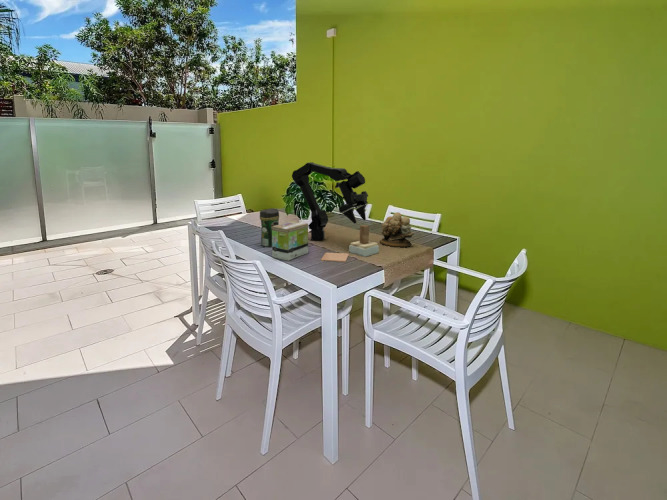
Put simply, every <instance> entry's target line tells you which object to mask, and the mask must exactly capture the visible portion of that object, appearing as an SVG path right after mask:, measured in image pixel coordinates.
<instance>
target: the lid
mask: <svg viewBox="0 0 667 500" xmlns="http://www.w3.org/2000/svg"><path fill="white" fill-rule="evenodd" d="M369 235H370V226H369V225H365V224H362V225H360V226H359V240H357V241H353V242H350V245H351V246H355V247H358V248H362V249H367V248H371V247H374V246H377V245H378V242H375V241H370V240H369V239H370V236H369Z"/></svg>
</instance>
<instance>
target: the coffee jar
mask: <svg viewBox="0 0 667 500" xmlns="http://www.w3.org/2000/svg"><path fill="white" fill-rule="evenodd" d="M279 219H280V213H279V209H277V208H273V207H272V208H267V209H262V210H260V211H259V220H260V224H261V231H260V232H261V237H260V238H261V239H260V243H261V245H262V246H263V247H264V246H265V248H267V247H268V248H271V247H272V226H276V225H279V224H280V223H279Z"/></svg>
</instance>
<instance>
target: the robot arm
mask: <svg viewBox="0 0 667 500" xmlns="http://www.w3.org/2000/svg"><path fill="white" fill-rule="evenodd" d="M313 172H314V173H317V174H319V175H324V176H327V177H329V178H330V179H332V180H333V181H335V182H336V184H335V185H334V188H335V189H337V188H339V190H340V192H341V195H342V196H341V199H342V200H344V202H345V204H343V205H340V206H339V207H338V211H339V213H340V214H341V215H344V216H345V217H346V218H347V219H349V221H351V223H353V224H354V225H355V224H357V220H356V216H355V213H354V211H356V212H357V214H358V215H359V216H360V217H361V219H362V220H363V221H366V220H367V218H366V216H367V215H366V207H367V205H368V203H369V201H368V197H369V194H368V192H367V191H366V190H363V191H361V193H357V191H354V190H355V189H358V188H359V187H361V186H362V185H365V184H366V178H365V176H364V175H363V174H362V173H361V172H360V171H359V170H356V171H355V172H353V173H349V172H348V171H347V169H346V168H342V167H341V168H340V167H330V166H326V165H321V164H318V163H314V162H312V161H309V162H306V163H305V164H304V165H302V166H301V167H299V168H297V169H295V170H293V171H292V174H291V177H292V180H293V182H294V184H296V185H297V186H298V187H299V188H300V190H301V192H302V195H303V197H304V199H305V201H306V203H307V206H308V208H309V209H310V214H311V215H310V219H311V221H310V223H308V230H310V235H311V237H310V241H315V242H317V241H318V242H323V240H324V239H326V238H325V237H326V234H325V233H326V230H324V228H326V226H327V224H328V222H329V216H328V214H327V212H326V210H325V209H322V208H320V206H319V204H318V201H317V199H316V197H315V195H314V192H313V190H312V188H311V185H310V177H309V176H310V175H311V174H312V173H313Z"/></svg>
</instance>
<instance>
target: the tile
mask: <svg viewBox="0 0 667 500" xmlns="http://www.w3.org/2000/svg"><path fill="white" fill-rule="evenodd" d="M349 255H350V253H342V252H341V253H339V252H337V253H336V252H325V253H324V254H323V256H322V258H321V259H320V261H322V262H337V263H338V262H339V263H346V262H347V260H348V258H349Z"/></svg>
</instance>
